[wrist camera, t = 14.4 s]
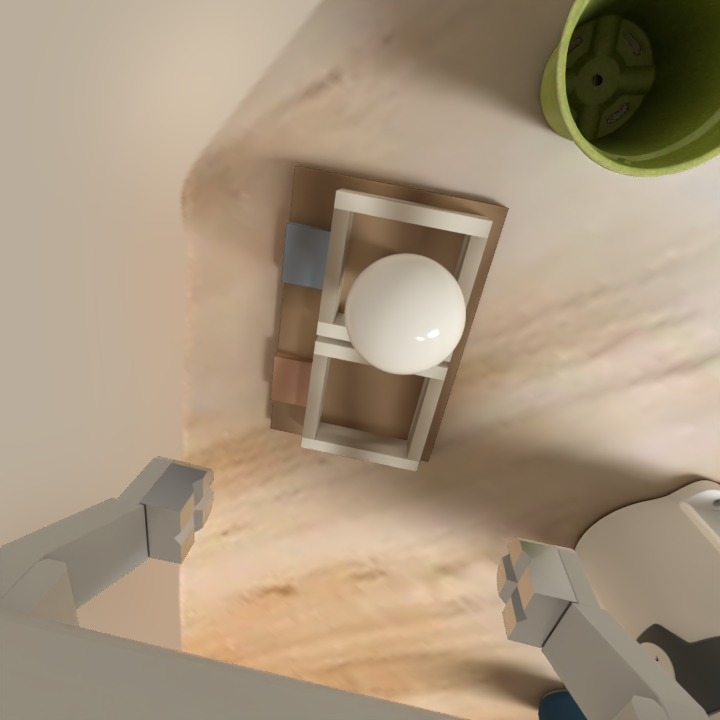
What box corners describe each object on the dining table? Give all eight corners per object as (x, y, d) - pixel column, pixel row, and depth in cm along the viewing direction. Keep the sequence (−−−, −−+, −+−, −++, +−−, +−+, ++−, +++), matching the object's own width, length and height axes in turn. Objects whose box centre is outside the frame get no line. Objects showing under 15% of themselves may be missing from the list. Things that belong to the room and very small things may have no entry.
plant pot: (720, 72, 23) (878, 25, 15) (576, 205, 27) (644, 222, 19) (618, -70, 21) (740, -207, 13) (477, 94, 25) (508, 63, 17)
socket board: (505, 206, 27) (517, 212, 24) (427, 454, 36) (429, 481, 33) (298, 166, 28) (284, 166, 24) (273, 421, 37) (261, 446, 34)
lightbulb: (336, 258, 28) (312, 315, 19) (418, 209, 27) (439, 243, 17) (381, 332, 31) (381, 416, 21) (459, 291, 29) (499, 362, 19)
